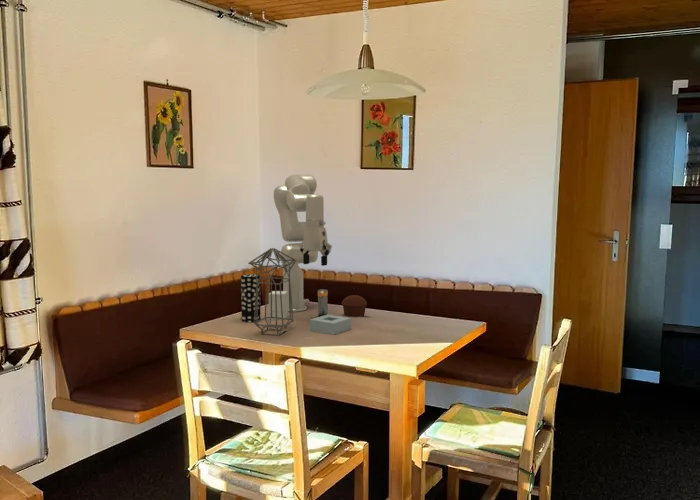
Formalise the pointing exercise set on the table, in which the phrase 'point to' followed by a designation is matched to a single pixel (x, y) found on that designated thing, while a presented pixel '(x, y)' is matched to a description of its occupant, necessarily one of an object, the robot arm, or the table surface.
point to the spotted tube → (249, 297)
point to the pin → (322, 303)
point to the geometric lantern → (282, 259)
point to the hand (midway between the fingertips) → (315, 264)
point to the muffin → (354, 306)
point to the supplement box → (278, 305)
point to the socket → (330, 324)
